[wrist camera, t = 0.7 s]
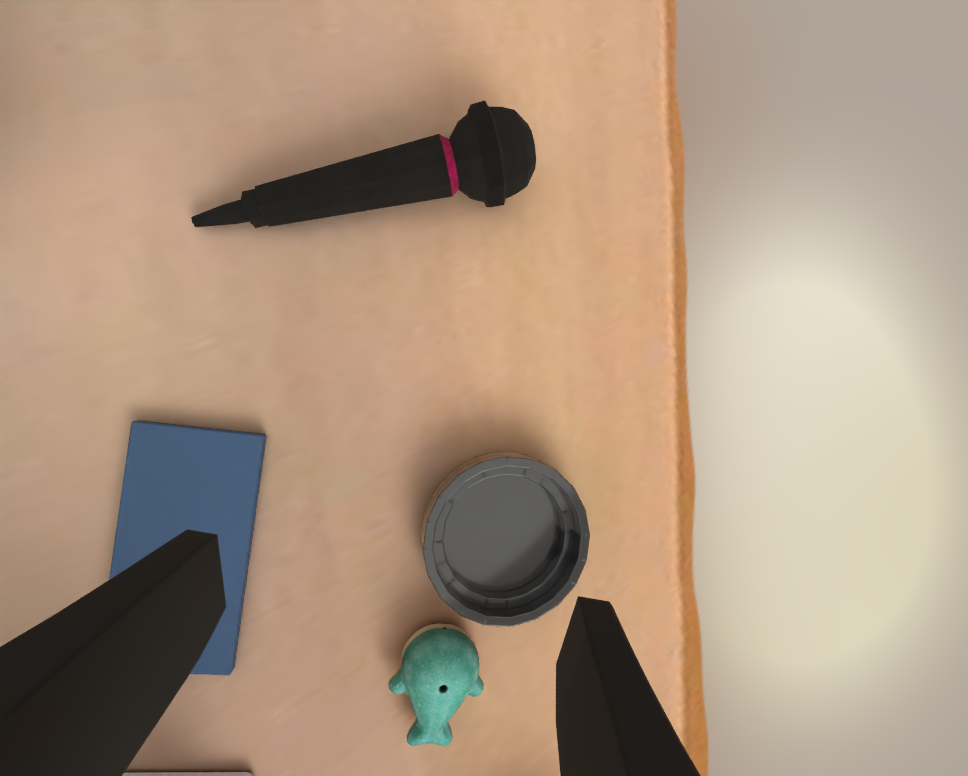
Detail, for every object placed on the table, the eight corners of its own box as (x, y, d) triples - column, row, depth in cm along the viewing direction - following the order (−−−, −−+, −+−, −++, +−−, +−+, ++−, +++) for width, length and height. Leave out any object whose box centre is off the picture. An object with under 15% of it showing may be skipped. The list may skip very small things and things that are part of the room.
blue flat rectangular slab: (234, 667, 29) (230, 675, 29) (103, 663, 28) (95, 672, 27) (267, 434, 30) (263, 435, 29) (138, 420, 28) (130, 421, 28)
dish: (564, 611, 33) (577, 630, 31) (411, 603, 31) (412, 622, 29) (584, 460, 33) (599, 466, 31) (432, 442, 31) (436, 448, 29)
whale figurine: (488, 620, 32) (500, 651, 28) (470, 733, 32) (480, 779, 28) (398, 613, 31) (399, 644, 27) (379, 729, 31) (377, 777, 27)
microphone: (231, 264, 32) (531, 196, 33) (193, 276, 26) (553, 194, 27) (195, 174, 30) (516, 104, 31) (147, 166, 24) (537, 82, 25)
